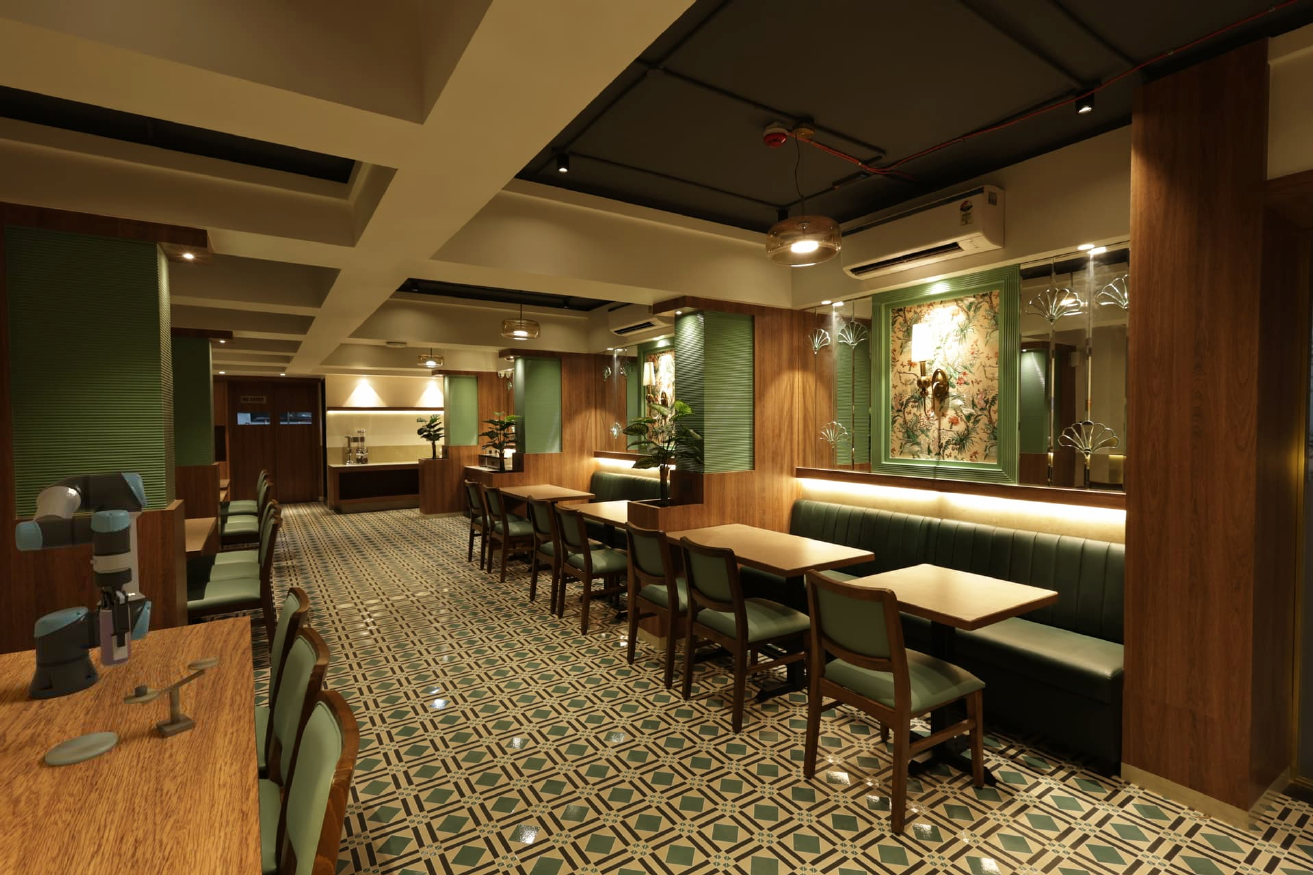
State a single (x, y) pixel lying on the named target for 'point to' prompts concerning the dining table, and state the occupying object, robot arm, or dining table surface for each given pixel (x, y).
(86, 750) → the dish
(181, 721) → the balance
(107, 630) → the beverage can
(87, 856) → the dining table surface
